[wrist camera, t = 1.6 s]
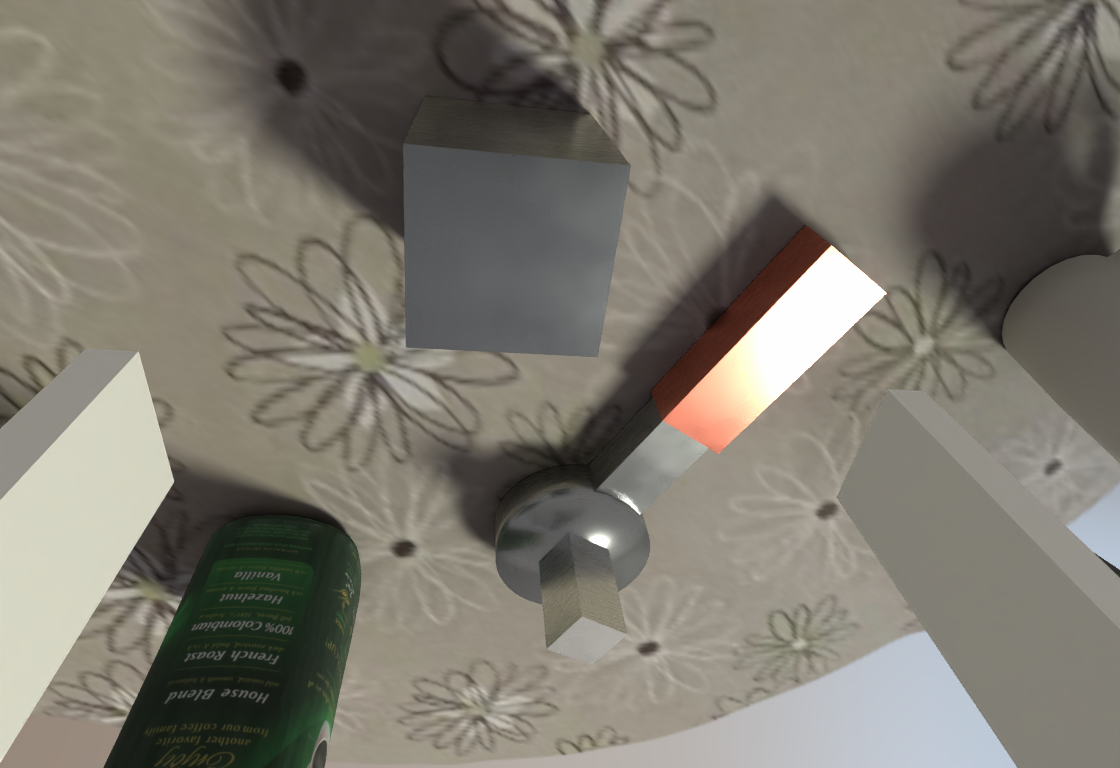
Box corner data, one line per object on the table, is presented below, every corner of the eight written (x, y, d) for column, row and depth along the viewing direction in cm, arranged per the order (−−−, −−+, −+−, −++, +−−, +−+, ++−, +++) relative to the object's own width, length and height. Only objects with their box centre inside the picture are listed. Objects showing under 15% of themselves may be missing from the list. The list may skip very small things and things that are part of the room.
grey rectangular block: (424, 255, 26) (406, 347, 19) (425, 95, 22) (402, 143, 16) (570, 266, 26) (597, 356, 20) (590, 114, 23) (630, 165, 17)
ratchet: (581, 587, 38) (600, 709, 31) (466, 539, 35) (463, 664, 28) (886, 295, 29) (998, 384, 23) (770, 194, 26) (863, 266, 19)
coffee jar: (202, 499, 31) (-73, 1016, 16) (368, 512, 33) (265, 994, 17) (216, 623, 36) (17, 1108, 21) (359, 629, 38) (273, 1084, 22)
